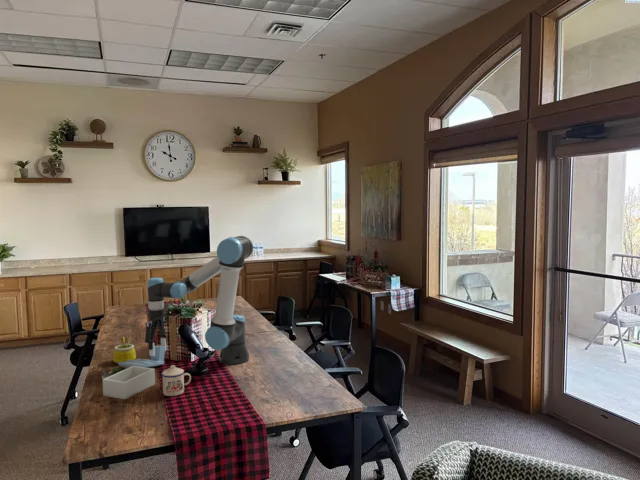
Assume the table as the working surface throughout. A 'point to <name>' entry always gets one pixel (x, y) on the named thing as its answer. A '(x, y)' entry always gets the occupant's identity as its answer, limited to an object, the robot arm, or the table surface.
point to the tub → (128, 382)
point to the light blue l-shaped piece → (154, 361)
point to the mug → (124, 352)
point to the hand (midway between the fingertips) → (158, 352)
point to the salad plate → (113, 371)
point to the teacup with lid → (174, 381)
